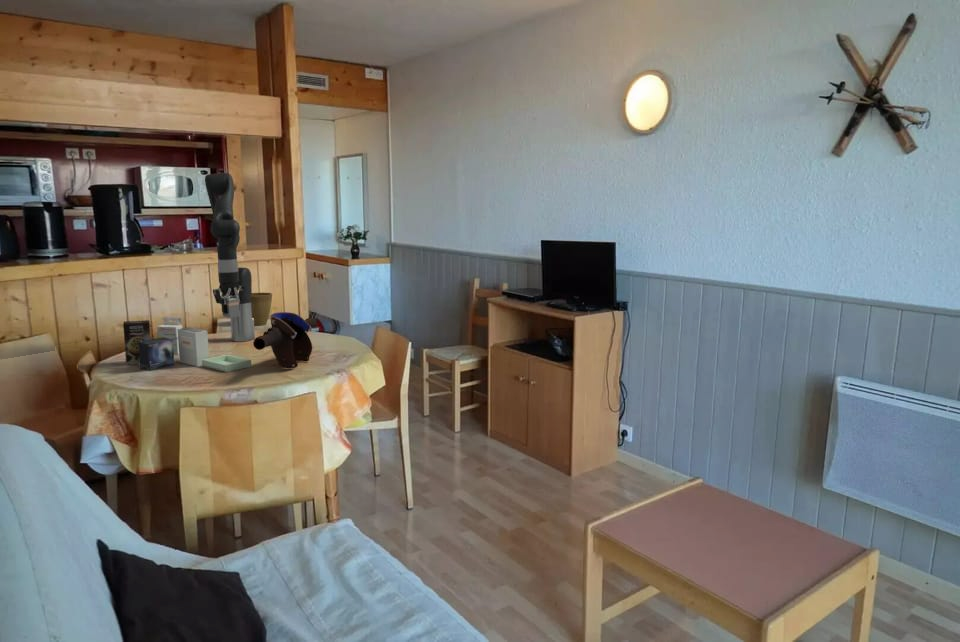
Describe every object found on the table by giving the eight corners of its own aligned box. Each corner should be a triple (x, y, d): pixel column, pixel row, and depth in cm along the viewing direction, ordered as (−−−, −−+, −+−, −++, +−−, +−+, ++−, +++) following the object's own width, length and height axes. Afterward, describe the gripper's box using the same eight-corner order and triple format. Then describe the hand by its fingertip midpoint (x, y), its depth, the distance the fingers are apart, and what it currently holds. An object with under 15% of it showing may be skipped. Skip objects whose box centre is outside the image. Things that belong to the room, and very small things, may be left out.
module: (232, 314, 260) (231, 297, 258) (239, 315, 257) (238, 298, 256) (222, 316, 256) (221, 298, 255) (229, 317, 253) (228, 299, 252)
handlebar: (276, 380, 225) (274, 324, 221) (243, 378, 227) (240, 323, 223) (328, 352, 268) (327, 306, 264) (300, 351, 270) (298, 304, 267)
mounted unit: (193, 359, 255) (190, 326, 252) (210, 363, 248) (208, 329, 246) (179, 362, 250) (176, 328, 247) (196, 366, 243) (194, 332, 241)
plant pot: (278, 322, 337) (277, 292, 335) (265, 327, 323) (264, 296, 320) (251, 321, 339) (250, 291, 336) (237, 326, 325) (236, 295, 322)
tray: (227, 360, 252) (227, 354, 252) (251, 366, 244) (251, 359, 244) (202, 366, 243) (201, 359, 243) (226, 372, 235) (225, 365, 235)
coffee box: (126, 365, 244) (122, 323, 241) (126, 361, 250) (122, 321, 247) (152, 362, 248) (149, 322, 245) (152, 359, 254) (149, 319, 251)
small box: (149, 371, 236) (146, 343, 234) (139, 368, 239) (136, 341, 237) (175, 365, 244) (173, 338, 243) (165, 363, 248) (163, 336, 246)
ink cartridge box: (158, 354, 263) (155, 319, 260) (165, 351, 268) (162, 317, 265) (177, 354, 262) (175, 319, 259) (184, 352, 267) (182, 317, 264)
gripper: (238, 268, 261) (240, 309, 264) (206, 271, 249) (209, 314, 253) (249, 269, 257) (252, 311, 260) (217, 272, 245) (220, 316, 248)
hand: (231, 312), depth 256 cm, fingers closed on module, 4 cm apart
